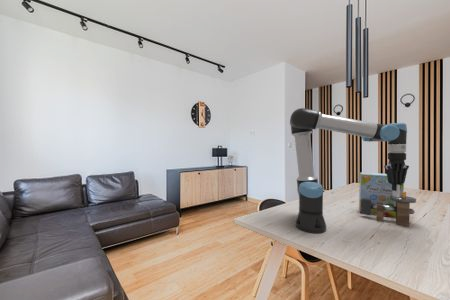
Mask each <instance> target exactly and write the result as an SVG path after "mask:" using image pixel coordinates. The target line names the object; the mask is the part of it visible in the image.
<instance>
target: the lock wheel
mask: <svg viewBox="0 0 450 300" xmlns="http://www.w3.org/2000/svg"><path fill="white" fill-rule="evenodd" d="M390 199H391V200H394V201H398V202H404V203H410V204H415V203H417V198H415V197H413V196H407V191H404V190H403V191H402V192H401V195H400V197H394V196H392V195H391V196H390Z"/></svg>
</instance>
